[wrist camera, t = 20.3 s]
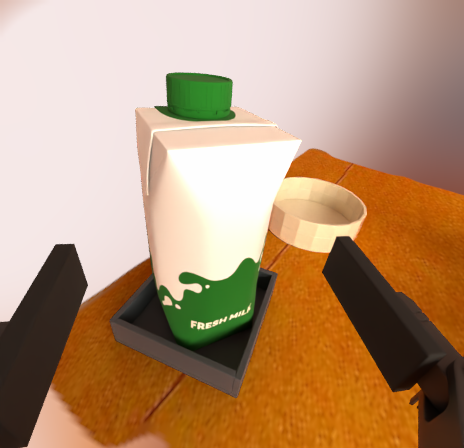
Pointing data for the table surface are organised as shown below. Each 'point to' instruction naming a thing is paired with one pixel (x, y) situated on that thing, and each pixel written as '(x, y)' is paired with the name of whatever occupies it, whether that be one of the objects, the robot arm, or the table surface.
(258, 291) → the tray
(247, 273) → the milk carton
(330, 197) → the bowl
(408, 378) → the robot arm
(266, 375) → the table surface
